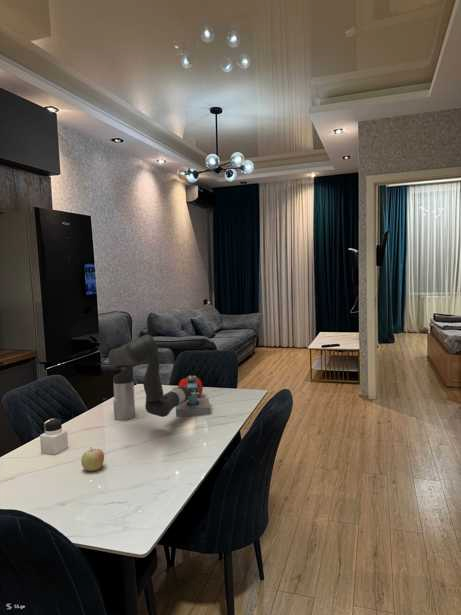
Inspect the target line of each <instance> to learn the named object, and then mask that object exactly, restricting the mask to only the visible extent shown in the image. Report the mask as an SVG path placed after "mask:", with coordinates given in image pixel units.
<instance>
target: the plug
mask: <svg viewBox="0 0 461 615" xmlns="http://www.w3.org/2000/svg"><path fill="white" fill-rule="evenodd" d="M197 378H198V376H197V375H188V376H186V379H187V387H188V388H191V387H196V386H197ZM194 391H195V389H194ZM197 398H198V397H197V396H196V395H195V394H194V395H192V396H189V398H188V404H189V405H196V404H198V399H197Z"/></svg>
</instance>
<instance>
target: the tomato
mask: <svg viewBox="0 0 461 615" xmlns="http://www.w3.org/2000/svg"><path fill="white" fill-rule="evenodd" d="M186 378H187V377H186ZM186 378H182V379H180V380H179V382H178V386H177V387H179V386H187V379H186ZM198 385H200V387H201V389H200V394H199V395H198V396H197V398H199V397H200V396H201V395H202V394H203V389H204V388H203V383H202V380H201V379H200V378H198V377H197V386H198Z"/></svg>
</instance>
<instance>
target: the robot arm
mask: <svg viewBox="0 0 461 615" xmlns="http://www.w3.org/2000/svg"><path fill="white" fill-rule="evenodd" d="M159 358H160V357H159V348H158V345H157V342H156V341H155V339H154V337H153V336H152V335H151V334H144V335H142V336H140V337H138V338H135V339H133V340H131V341H129V342H128V343H125V344H122V345H121V346H120V347H117V348H113V349H111V350H110V351H109V353H108V358H107V359H108V364H109V366H110V367H111V368H113V369H122V368H123V370H122V371H121V372H120V373H117V374H115V375H113V377H112V378H113V379H112V381H113V397H114V398H113V413H114V414H113V416H114V417H113V418H114V420H115V421H116V420H117V421H128V420H132V419H134V418H135V417H136V404H135V401H136V400H135V385H134V381H135V380H134V365H135V366H138V365H141V364H143V363H146V362H147V361H148V364H147V368H146V371H145V373H144V377H143V382H142V384H143V389H144V392H145V405H144V407H145V411H146V412H147V413H148V414H150V415H152V416H153V415H154V416H158V417H160V418H164V417H167V416H168V415H169V414H170V413H171V412H172V410H173V409H174V408H176V406H178V405H180V404H182V403H184V402H185V401H187V400H188V398H189V396H192V395H194V394H195V395H196V396H198V395H199V394H200V389H201V387H200V385H198V386H196V387H191V388H188V387H187V386H179V387H178V386H177V387H174V388H172V389H171V390H170V391H168V392H167V393H164V390H163V386H162V381H161V377H160V376H161V375H160V374H161V373H160V360H159ZM194 389H195V391H194ZM198 397H199V396H198Z"/></svg>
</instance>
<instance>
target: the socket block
mask: <svg viewBox="0 0 461 615" xmlns="http://www.w3.org/2000/svg"><path fill="white" fill-rule="evenodd" d="M197 399H198V404H196V405H189V404H188V400H187V401H185V402H184V403H182V404H180V405H178V406H176V407H175V417H176V418H177V417H178V418H179V417H180V418H181V417H193V416H209V415H211V406H210V401H209V397H197Z"/></svg>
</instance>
